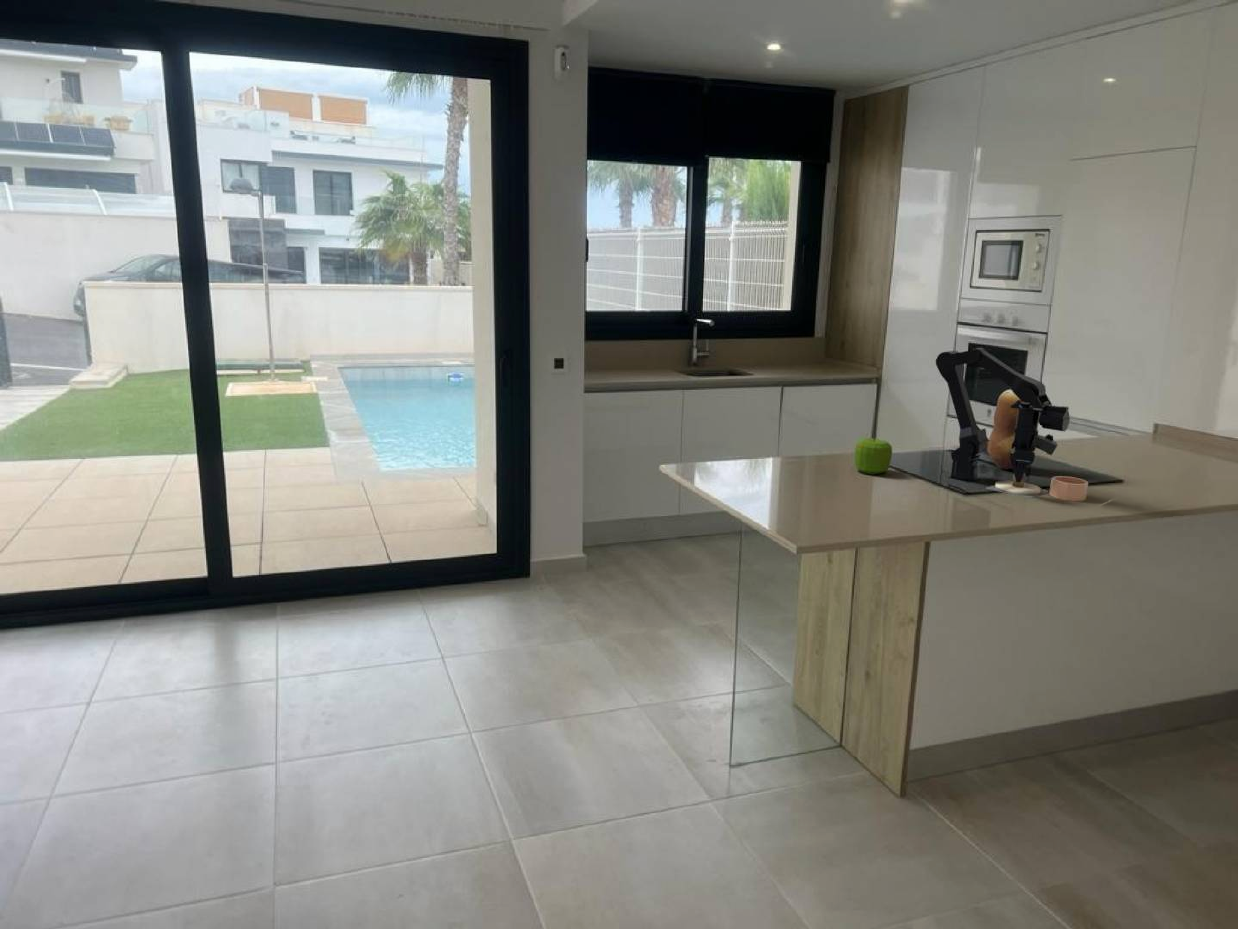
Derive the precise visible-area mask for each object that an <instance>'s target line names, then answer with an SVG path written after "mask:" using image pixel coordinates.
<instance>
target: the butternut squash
mask: <svg viewBox="0 0 1238 929" xmlns="http://www.w3.org/2000/svg"><path fill="white" fill-rule="evenodd" d="M1017 400H1020V399H1019V398H1018V397H1017V396H1016V395H1015V394H1014V393H1013V391H1012V390H1011V389H1006V390H1005V391H1003V392H1002V393H1001V394H1000V395H999V397H998V399H997V404H996V407H995V410H994V412H993V413H994V415H993V428H992V431H991V433H990V436H989V438H988V440H989V442H987V443H988V448H987V450H986V451H987V453H988V455H989V456H990V458H991V460H992V461H993V463H994V464H995V465H996V467H997V468H998V469H1000V470H1005V471H1009V470H1013V468H1012V465H1011V461H1010V453H1011V450H1012V449H1013V448H1012V442H1013V440H1014V433H1015V427H1016V420H1017V414H1018V409H1016V408H1011V407H1010V406H1011V405H1013V404H1014V403H1016V401H1017ZM1022 402H1023V401H1022ZM1023 403H1025V402H1023ZM1027 404H1029V403H1027ZM1014 448H1015V447H1014Z"/></svg>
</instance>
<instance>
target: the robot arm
mask: <svg viewBox="0 0 1238 929" xmlns="http://www.w3.org/2000/svg"><path fill="white" fill-rule="evenodd" d="M986 350H987V349H985V348H982V347H977V348H973V349H971V350H965V351H960V352H959V351H958V350H950V351H949V350H948V351H944V352H943V351H942V352H940V353H939V354H938V355H937V357H936V359H935V365H936V367H937V370H938V372H939V375H940V376H941V377H942V378H943V379H944V381H945V382H946V383H947V386H948V390H949V394H950V398H951V400H952V404H953V405H952V406H953V408H954V412H955V415H956V419H957V422H958V426H959V435H958V443H959V447H958V448H956V449H954V451H951V453H950V456H951V460H952V464H951V465H952V466H951V471H950V472H951V473H950V475H949V476H948V477H947V478H948V479H952V480H956V481H959V480H960V481H959V482H964V481H965V482H964V483H970V482H974V481H977V480H978V479H979V477H978V474H979V473H978V472H979V465H978V462H979V461H978V459H980V457H981V455H982V454H984V453H985V452H986V451H987V448H988V442H989V438H988V436H987V430H986V428H980V427H979V426H978V424H977V423H976V419H975V415H974V412H973V408H972V405H971V401H970V397H969V394H968V390H967V387H966V384H965V378H964V375H965V364H967V365H968V364H970V363H974V364H976V365H977V366H979V367H981V368H982V369H983V370H985V371H987V373H989V374H991V375H993V377H995V378H997V379H998V380H1000V381H1002V383H1004V384H1006V386H1007V387H1009V388H1010V389H1009V390H1012V391H1013V393H1014V394H1015V395H1016V396H1017V397H1018V398H1019V399H1020V400H1017V401H1016V403H1014V404H1013V405H1011V406H1010V407H1011V408H1016V409H1018V414H1017V420H1016V427H1015V433H1014V440H1013V442H1012V448H1013V449H1012V450H1011V453H1010V461H1011V465H1012V468H1013V469H1012V472H1013V477H1014V476H1015V479H1016V482H1019V483H1020V482H1021V479H1022V477H1023V474H1024V473H1026V472H1025V471H1026V469H1027V467H1028V466H1029V465H1030V466H1031V465H1033V463H1034V461H1035V459H1036V458H1035V457H1036V453H1035V450H1036V449H1038V450H1041V452H1045V453H1046V454H1047V455H1049V456H1052V455H1053V454H1054V452H1055V450H1056V449H1057V448H1058V445H1059V444H1058V443H1057V441H1055V440H1054V436H1053V435H1052V434H1046V435H1041V434H1039V429H1038V427H1039V426H1041V427H1042V429H1047V430H1052V431H1053V430H1054V431H1059V432H1063V433H1064V432H1066V431H1067V430H1068V428H1069V425H1070V420H1071V418H1070V412H1069V409H1070V407H1069V406H1065V405H1063V406H1062V405H1061V406H1059V405H1055V404H1054V405H1053V403H1052V402H1051V400H1050V399H1049V396H1048V395H1047V393H1046V392H1047V390H1046V385H1045V384H1044V383H1043V382H1042V381H1039V380H1037V379H1035V378H1033V377H1030V376H1027V375H1024V374H1022V373H1019V372H1018V371H1016V370H1015V369H1013V368H1011V367H1010V366H1009V365H1007V364H1006V363H1004V362H1003V361H1001V360H1000V359H999V358H996V357H995V356H994V355H993V354H990V353H989V352H988V351H986ZM1022 401H1023V402H1025V403H1023V402H1022ZM1027 403H1029V404H1027ZM1014 447H1015V448H1014Z"/></svg>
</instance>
